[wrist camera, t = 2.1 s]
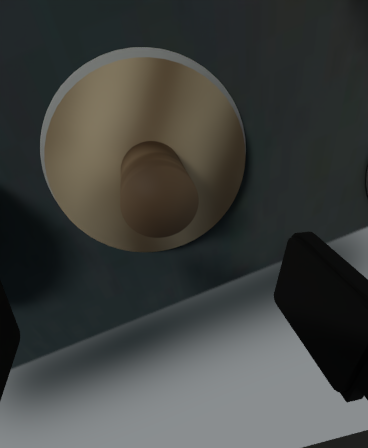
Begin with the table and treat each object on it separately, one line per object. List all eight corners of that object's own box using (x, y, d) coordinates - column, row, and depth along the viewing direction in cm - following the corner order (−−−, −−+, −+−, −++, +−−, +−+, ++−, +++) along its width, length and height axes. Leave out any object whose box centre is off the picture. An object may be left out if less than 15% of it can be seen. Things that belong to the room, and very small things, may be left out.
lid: (252, 61, 17) (308, 62, 12) (228, 237, 24) (258, 287, 19) (26, 52, 15) (-25, 48, 10) (67, 249, 22) (50, 310, 16)
